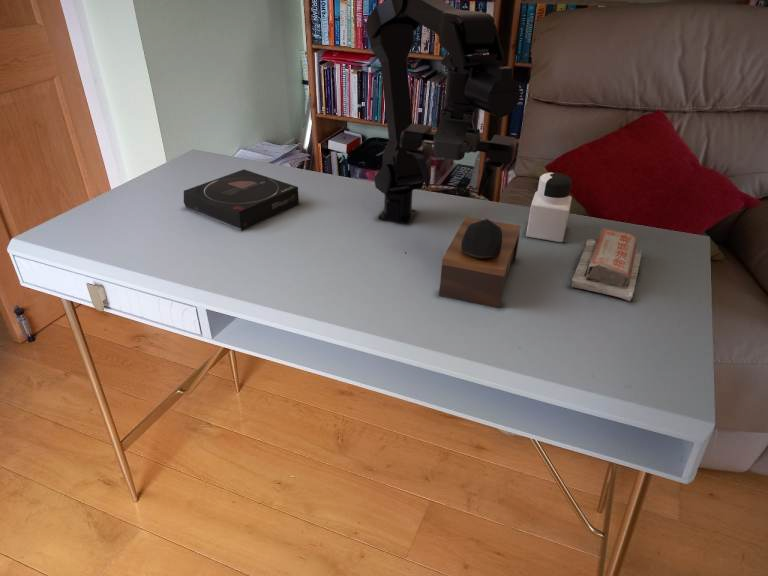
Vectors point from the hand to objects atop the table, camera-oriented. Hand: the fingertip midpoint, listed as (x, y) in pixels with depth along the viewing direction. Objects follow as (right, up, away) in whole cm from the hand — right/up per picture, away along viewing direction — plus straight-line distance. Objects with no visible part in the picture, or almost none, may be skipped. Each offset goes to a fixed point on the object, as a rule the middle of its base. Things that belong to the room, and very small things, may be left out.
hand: (453, 191), depth 102 cm
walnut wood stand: (+5, -15, 0) cm, 16 cm away
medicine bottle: (+20, -6, +16) cm, 27 cm away
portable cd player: (-42, 0, +23) cm, 48 cm away
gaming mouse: (+5, -9, -3) cm, 11 cm away
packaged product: (+28, -14, +3) cm, 31 cm away
